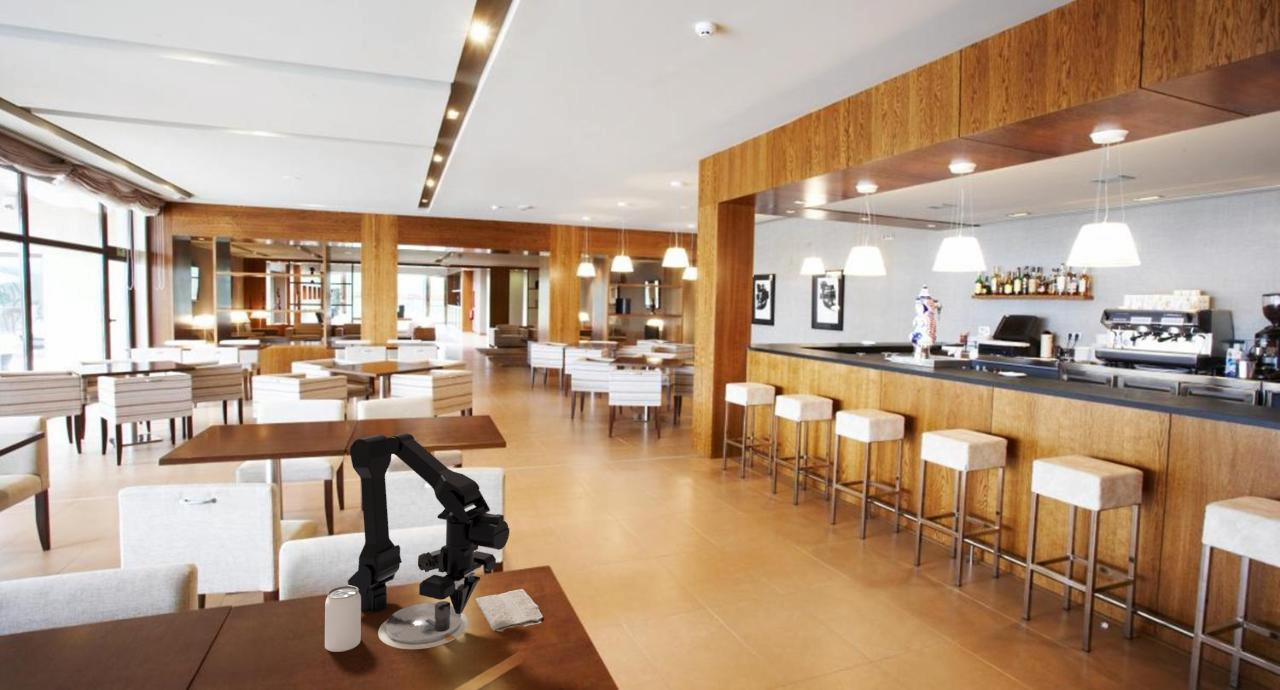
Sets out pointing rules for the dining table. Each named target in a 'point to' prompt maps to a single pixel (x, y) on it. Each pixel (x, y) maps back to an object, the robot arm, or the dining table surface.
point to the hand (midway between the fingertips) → (458, 613)
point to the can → (342, 619)
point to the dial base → (392, 643)
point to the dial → (423, 623)
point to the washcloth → (509, 610)
